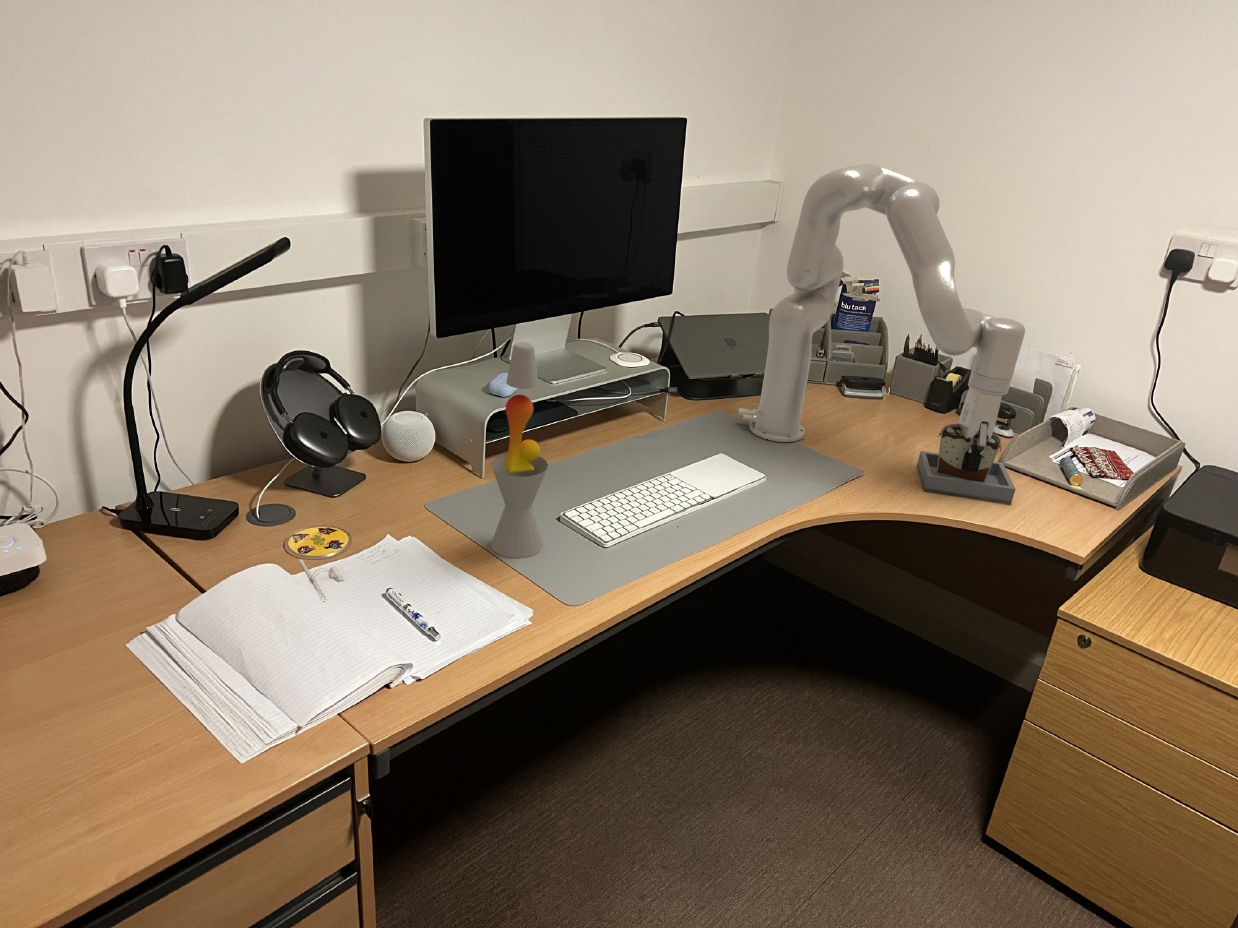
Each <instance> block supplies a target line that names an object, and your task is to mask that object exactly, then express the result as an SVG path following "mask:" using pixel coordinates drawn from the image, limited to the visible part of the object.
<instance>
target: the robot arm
mask: <svg viewBox="0 0 1238 928" xmlns="http://www.w3.org/2000/svg"><path fill="white" fill-rule="evenodd" d="M865 208H867V209H869V210H871V211H875V212H876V213H879V214H882V215H885V216H886V219H887V221H888V224H889V226H890V228H891V230H892V233H893V235H894V238H895V240H896V243H897V244H898V246H899V249H900V251H901V253H902V254H901V255H902V256H903V257H904V260H905V263H906V265H907V267H908V269H909V272H910V274H911V279H912V285H913V290H914V293H915V297H916V301H917V305H918V307H919V308H918V309H919V311H920V315H921V316H922V320H923V321H924V324H925V326H926V329H927V331H928V333H929V335H930V337H931V340H932V341H933V343H934V344H935V346H936V347H937V348H938V350H939V351H940V352H941V353H943V354H945V355H948V356H954V357H955V356H961V355H963V354H965V353H968V352H969V351H970V350H971V349H972V348H976V353H975V355H974V357H975V358H974V361H973V364H972V368H971V371H970V375H969V379H968V383H967V386H968V387H969V388H968V391H967V394H966V396H965V400H964V404H963V406H962V409H961V412H960V415H959V418H958V422H959V426H960V428H961V431H962V433H963V435H964V437H965V438H966V439H968V438H970V440H969V446H968V451H966V452H965V455H964V459H963V463H962V466H961V468H962V470H966V471H973V472H977V471H978V469H979V465H980V462H981V458H982V455H983V451H984V447H985V446H986V442H987V441H989V440H990V439H991V436H992V433H994V430H995V426H996V423H997V419H998V415H999V411H1000V406H1001V402H1002V399H1003V398H1002V397H1003V396H1005V395H1007V394H1008V393H1009V390H1010V387H1011V384H1012V383H1011V382H1012V378H1013V376H1014V372H1015V369H1016V365H1017V361H1018V358H1019V355H1020V351H1021V349H1022V345H1023V342H1024V338H1025V334H1026V329H1025V326H1024V325H1023V324H1022V323H1020V322H1019V321H1017V320H1015V319H1009V318H1004V317H994V316H991V315H989V314H986V313H984V312H981V311H978V310H975V309H971V308H967V307H966V308H963V305H962V303H961V300H960V297H959V295H958V290H957V286H956V281H955V266H956V265H955V264H956V259H955V253H954V251H953V249H952V247H951V244H950V242H949V240H948V237H947V234H946V232H945V231H944V228H943V226H942V224H941V222H940V218H939V217H938V212H939V209H940V198H939V195H938V192H937V191H936V190H935V189H934V188H933V187H932V186H930V185H929V184H927V183H924V182H922V181H919V180H916V179H914V178H912V177H908V176H906V175H903V174H900V173H898V172H895V171H893V170H890V169H888V168H885V167H882V166H880V165H876V164H872V163H862V164H855V165H852V166H851V165H850V166H846V167H842V168H838V169H835V170H832V171H829V172H827V173H826V174H823V175H821V176H820V177H819V178H817V179H816V181H814V182H813V184H812V185H811V186H810V187H809V189H808V190H807V191H806V194H805V196H804V199H803V203H802V206H801V210H800V215H799V219H798V223H797V227H796V230H795V233H794V238H793V242H792V245H791V246H792V247H791V250H790V254H789V257H788V260H787V265H786V278H787V281H788V283H789V284H790V285H791V287H793V289H794V291H793V293H792V294H790V295H788V296H786V297H784V298H782V299H781V300H780V301H779V302H778V303H777V304H776V305H775V306H774V308H773V310H772V311H771V312H770V317H769V323H768V347H767V354H766V361H765V362H766V363H765V369H764V374H763V381H762V387H761V395H760V399H759V401H760V402H759V405H757V408H756V409H755V408H753V409H747V408H742V407H739V408H738V414H737V417H742V420H743V421H749V422H750V423H749V430H750V432H752V434H754V435H755V436H757V437H759V438H762V439H764V440H767V439H768V441H771V442H772V441H773V442H779V443H792V442H797V441H800V440H802V439H803V438H805V434H806V429H805V428H804V427H803V425H801V424H800V423H801V416H802V413H803V408H804V407H803V406H804V401H805V395H806V394H805V393H806V390H807V383H808V378H809V373H810V366H811V362H812V361H811V360H812V349H813V345H812V343H813V342H812V340H813V335H814V333H816V332H817V331H818V330H820V329H822V327H824V325H826V323H828V321H829V319H830V317H831V315H832V312H833V308H834V305H835V301H836V298H837V294H838V290H839V287H840V283H841V279H842V275H843V269H844V257H843V253H842V251H841V250H840V248H839V247H838V246H837V245H836V242H837V239H838V236H839V233H840V226H841V219H842V216H843V215H844V214H845V213H847V212H852V211H857V210H861V209H862V210H863V209H865ZM974 435H978V438H973V437H974ZM973 441H978V442H977V444H974V445H973Z"/></svg>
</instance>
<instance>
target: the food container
mask: <svg viewBox="0 0 1238 928" xmlns="http://www.w3.org/2000/svg"><path fill="white" fill-rule="evenodd" d="M939 437H940V440H939V441H940V443H939V449H938V450H939V451H938V453H939V456H938V464H937V472H936V474H940V475H944V476H948V477H952V478H957V479H964V480H971V481H977V482H984V483H985V480H986V478H987V476H988V473H989V471H990V468H991V466H992V464H993V461H994V462H995V458H996V456H997V453H998V451H999V453H1002V440H1001V438H1000V436H998V435H997V434H996V433H995V432H993V433H992V436H991V439H990V440H989V441H987V442H986V446H985V447H984V451H983V455H982V458H981V462H980V465H979V469H978V471H977V472H973V471H966V470H962V468H961V466H962V463H963V459H964V455H965V452H966V451H968V446H969V440H970V438H968V439H966V438H965V437H964V435H963V433H962V431H961V428H960V426H959V424H955V423H952V424H948V425H945V426H943V428H942V429H941V430H940V431H939V434H938V435H937V438H939ZM973 438H978V435H974V437H973ZM977 442H978V441H973V445H974V444H977Z"/></svg>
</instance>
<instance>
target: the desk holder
mask: <svg viewBox="0 0 1238 928" xmlns="http://www.w3.org/2000/svg"><path fill="white" fill-rule="evenodd" d="M938 456H939V452H932V451H925V450H920V452H919V455H918V459H917V464H916V467H917V471H918V475H919V479H920V482H921V486H922V490H923V492H925V493H932V494H938V495H944V496H950V497H958V498H964V499H972V500H975V501H976V500H977V501H985V502H990V503H997V504H1003V505H1012V502H1013V499H1014V495H1015V492H1016V486H1015V485H1014V484H1013V481H1012V479H1011V476H1010V475H1009V473H1008V471H1007V469H1006V466H1005V464H1004V463H1003V462H1002V461H1001V462H1000V461H999V462H998V461H995V460H994V461H993V464H992V466H991V468H990V471H989V473H988V476H987V478H986V480H985V483H984V482H977V481H971V480H964V479H957V478H952V477H948V476H944V475H940V474H936V472H937V464H938Z"/></svg>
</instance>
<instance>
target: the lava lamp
mask: <svg viewBox="0 0 1238 928" xmlns="http://www.w3.org/2000/svg"><path fill="white" fill-rule="evenodd" d="M506 384H507V385H508V386H510V387H512V388H516V389H523V390H524V389H525V390H526V389H527V390H528V389H533V388H536V387H538V386H539V377H538V369H537V362H536V353H535V347H534V345H533V344H532V343H530V342H527V341H520V342H516V343H515V344H514V345H513V347H512V352H511V355H510V362H509V367H508V373H507V377H506ZM533 413H534V404H533V402H532V400H531V399H530V398H529V397H528V396H526V395H524V394H514V395H512V396H511V397H509V399H508V400H507V401H506V403H505V414H506V417H507V421H508V426H509V427H508V429H509V445H508V452H507V453H504V454H503V453H502V454H500V455H498V456H496V457H495V458H494V459H492V461H491V468H492V471H493V474H494V477H495V479H496V482H497V485H498V488H499V491H500V493H501V496H502V499H503V502H504V505H505V506H504V507H503V510H502V512H501V516H500V518H499V521H498V524H497V527H496V529H495V532H494V535H493V538H492V540H491V543H490V545H491V549H492V551H494V552H495V553H497V554H498V555H500V556H502V557H505V558H506V557H507V558H510V559H511V558H512V559H525V558H529V557H534V556H536V555H537V554H539V553H540V552H541V551H542V550H543V548H544V543H543V540H542V537H541V532H540V530H539V526H538V524H537V519H536V516H535V513H534V510H533V503H534V501H535V499H536V496H537V494H538V491H539V489H540V487H541V485H542V483H543V481H544V477H545V475H546V472H547V469H548V466H549V465H548V464H549V463H548V462H547V460H545V459H544V458H543V457H541V456H540V453H541V447H540V444H538V442H537V441H535V440H534V439H528V438H527V439H525V440H522V439H523V433H524V431H525V428H526V425H527V424H528V422H529V420H530V419H531V417H532V416H533Z"/></svg>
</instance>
